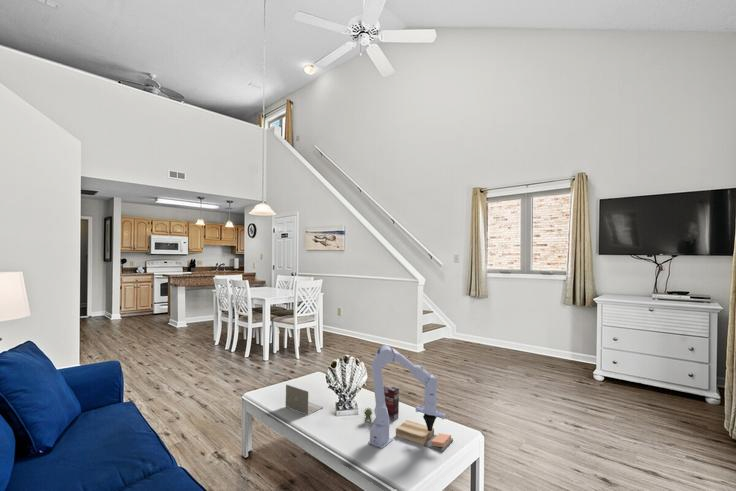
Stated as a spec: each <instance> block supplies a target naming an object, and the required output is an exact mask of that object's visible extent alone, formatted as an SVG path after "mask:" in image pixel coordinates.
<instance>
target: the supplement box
mask: <svg viewBox="0 0 736 491" xmlns="http://www.w3.org/2000/svg"><path fill="white" fill-rule="evenodd" d="M383 387H384V396H385V404H386V407H387V410H388V415H389V420H391V421H395V420H397V419H399V416H400V415H399V412H400V411H399V410H400V409H399V408H400V407H399V406H400V405H399V404H400V402H399V401H400V395H399V394H400V389H399V388H397V387H395V386H391V385H388V384H386V385H383Z"/></svg>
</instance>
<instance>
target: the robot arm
mask: <svg viewBox="0 0 736 491" xmlns="http://www.w3.org/2000/svg"><path fill="white" fill-rule="evenodd" d="M391 362H392V363H394V364H395V363H399V364H400V365H402V366H403V367H405V369H407V370H408V371H410V374H411V376H412V377H413V378H415V379H416V380H417V381H419V383H421V384H424V392H423V394H424V395H423V396H424V398H423V399H424V400H423V403H424V404H423V405H424V406H416V407H415V412H416V413H421V414H424V415H423V416H422V417H423V420H424V422H425V426H427V429H428V431H432V428H434V427H433V426H434V424H435V422H436V419H437V418H439V419H441V420H443V421H444V420H445V419H446V413H444V412H441V411H439V410H437V389H438V387H439V383H438V379H436V377H435V376H434V375H433V373H431V372H428V371H427V370H426V369H424V366H423V365H419V364H414V363H412V362H411V361H410V360H409V359H408V358H406V357H405V356H404V355H403V354H401V353H400V352H399V351H398V350H396V349H395V348H394V347H391V346H390V344H389V345H388V344H383V345H381V346H379V348H378V349H377V350H376V353H375V355H374V358H372V362H371V373H372V382H373V390H374V399H375V400H374V401H375V407H374V416H375V417H374V418H373V425H372V426H371V427H370V429H369V441H368V444H369V445H372V446H375V447H377V448H381V449H383V448H385V447H386V446H387V445H388V444H390V443H392V442H393V440H394V438H391V437H390V419H389V415H388V410H387V407H386V404H385V396H384V387H383V386H384V381H383V380H384V379H383V372H382V371H383V370H382V369H383V368H384V367H385V366H387V365H388V364H389V363H391Z"/></svg>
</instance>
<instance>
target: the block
mask: <svg viewBox="0 0 736 491" xmlns="http://www.w3.org/2000/svg"><path fill="white" fill-rule="evenodd" d="M436 435H437V436H436V437H435V438H434V439H433V440H432V441H431V445H432V446H437V447H443V448H444V447H445V446H446V445H447V444H448V443H449V442H450V440H451V438H452V434H446V433H439V432H438V434H436Z"/></svg>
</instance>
